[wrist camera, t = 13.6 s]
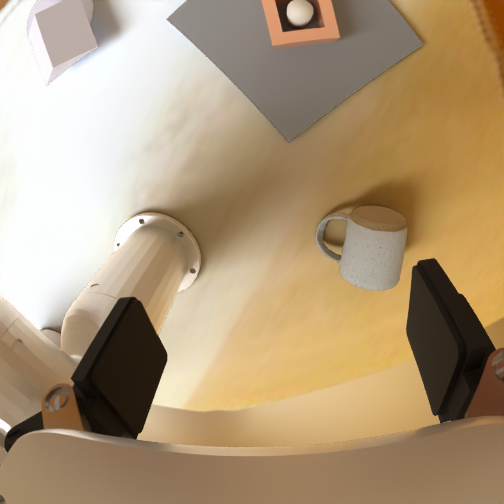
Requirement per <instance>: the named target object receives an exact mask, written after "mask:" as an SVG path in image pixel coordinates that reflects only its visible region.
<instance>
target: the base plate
mask: <svg viewBox="0 0 504 504" xmlns="http://www.w3.org/2000/svg"><path fill="white" fill-rule="evenodd" d="M331 2H332V6H333V10H334V14H335V18H336V22H337V26H338V30H339V35H340V38H339V39H338V40H336V41H335V42H334V43H325V44H315V45H307V46H299V47H292V48H285V49H278V50H273V46H272V41H271V37H270V33H269V29H268V25H267V20H266V16H265V12H264V8H263V4H262V0H187V1H186V2H185V3H183V4H182V5H181V6H180V7H179V8H178V9H177V10H176V11H175V12H174V13H173V14H172V15H170V16H169V17H168V18H167V20H168V21H169V22H170V23H171V24H172V25H173V26H175V27H176V28H177V29H178V30H179V31H180V32H181V33H182V34H183V35H184V36H186V37H187V38H188V39H189V40H190V41H191V42H192V43H193V44H194V45H195V46H196V47H197V48H198V49H199V50H201V51H202V52H203V53H204V54H205V55H206V56H207V57H208V58H209V59H210V60H211V61H212V62H213V63H214V64H215V65H216V66H217V67H218V68H219V69H220V70H221V71H222V72H223V73H224V74H225V75H226V76H227V77H228V78H229V79H230V80H231V81H232V82H233V83H234V84H235V85H236V86H237V87H238V88H239V89H240V90H241V91H242V92H243V93H244V94H245V96H246V97H247V98H248V99H249V100H250V101H251V102H252V103H253V104H254V105H255V106H256V107H257V108H258V109H259V110H260V112H261V113H262V114H263V115H264V116H265V117H266V118H267V119H268V120H269V121H270V122H271V124H272V125H273V126H274V127H275V128H276V129H277V130H278V131H279V133H280V134H281V135H282V136H283V137H284V138H285V139H286V141H287V142H288V143H289V142H291V141H292V140H293V139H295V138H296V137H297V136H298V135H300V134H301V133H302V132H303V131H305V130H306V129H307V128H309V127H310V126H311V125H312V124H314V123H315V122H316V121H318V120H319V119H320V118H322V117H323V116H324V115H326V114H327V113H328V112H329V111H331V110H332V109H333V108H335V107H336V106H337V105H339V104H340V103H341V102H343V101H344V100H346V99H347V98H348V97H350V96H351V95H352V94H354V93H355V92H356V91H358V90H359V89H361V88H362V87H363V86H365V85H366V84H367V83H369V82H370V81H372V80H373V79H374V78H376V77H377V76H379V75H380V74H382V73H383V72H384V71H386V70H387V69H389V68H390V67H392V66H393V65H394V64H396V63H397V62H399V61H400V60H402V59H403V58H405V57H406V56H408V55H409V54H411V53H412V52H414V51H415V50H417V49H418V48H420V47H421V46H423V43H422V42H421V40H420V39H419V38H418V36H417V35H416V34H415V32H414V31H413V30H412V28H411V27H410V26H409V24H408V23H407V22H406V21H405V19H404V18H403V17H402V16H401V14H400V13H399V12H398V11H397V10H396V8H395V7H394V6H393V5H392V4H391V2H390V1H389V0H331ZM276 7H277V11H278V15H279V19H280V23H281V27H282V32H289V31H296V30H304V29H312V28H319V26H318V22H317V18H316V14H315V10H314V6H313V2H312V1H306V0H293V1H291V2H290V3H289V4H282V5H276Z"/></svg>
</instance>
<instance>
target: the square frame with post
mask: <svg viewBox="0 0 504 504" xmlns="http://www.w3.org/2000/svg"><path fill="white" fill-rule="evenodd" d="M291 1H293V0H262V4H263V8H264V12H265V16H266V20H267V25H268V29H269V33H270V37H271V41H272V46H273V50H278V49H285V48H292V47H299V46H307V45H315V44H325V43H334V42H335V41H336V40H338V39H339V38H340V35H339V30H338V26H337V22H336V18H335V14H334V10H333V6H332V2H331V0H306V1H312V2H313V6H314V10H315V14H316V18H317V22H318V26H319V28H312V29H304V30H296V31H289V32H282V27H281V23H280V19H279V15H278V11H277V7H276V5H282V4H289V3H290V2H291Z"/></svg>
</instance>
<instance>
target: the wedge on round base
mask: <svg viewBox="0 0 504 504" xmlns="http://www.w3.org/2000/svg"><path fill="white" fill-rule="evenodd" d="M93 13H94V2H93V0H37V1H36V3H35V4H34V6H33V8H32V9H31V12H30V14H29V17H28V22H27V35H28V38H29V42H30V45H31V48H32V51H33V54H34V57H35V59H36V62H37V65H38V68H39V71H40V73H41V76H42V79H43V81H44V84H45V87H46V86H47V85H49V84H50V83H51V82H52V81H53V80H55V79H56V78H57V77H58V76H59V75H61V74H62V73H63V72H64V71H66V70H67V69H68V68H70V67H71V66H72V65H74V64H75V63H76V62H78V61H79V60H80V59H82V58H83V57H84V56H86V55H87V54H89V53H90V52H91V51H93V50H94V49H96V48H97V47H99V46H98V44H97V41H96V39H95V36H94V34H93V31H92V29H91V26H90V23H91V21H92V18H93Z"/></svg>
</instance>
